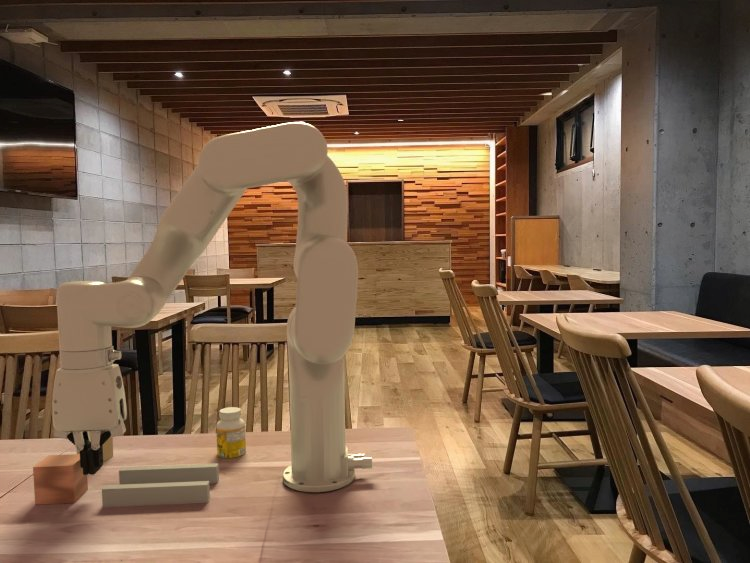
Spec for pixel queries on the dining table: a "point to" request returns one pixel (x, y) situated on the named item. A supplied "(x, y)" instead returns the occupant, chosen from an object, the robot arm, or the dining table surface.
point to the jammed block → (59, 479)
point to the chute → (161, 485)
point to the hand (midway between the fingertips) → (92, 471)
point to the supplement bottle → (230, 433)
